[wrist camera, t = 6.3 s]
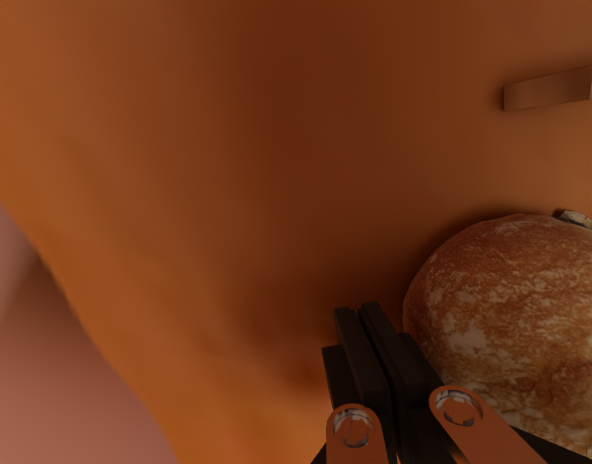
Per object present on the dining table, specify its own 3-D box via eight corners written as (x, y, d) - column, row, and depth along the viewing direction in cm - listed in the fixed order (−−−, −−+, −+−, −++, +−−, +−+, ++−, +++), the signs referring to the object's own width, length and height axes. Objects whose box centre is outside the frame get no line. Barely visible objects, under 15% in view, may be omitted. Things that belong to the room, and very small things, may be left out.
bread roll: (559, 235, 16) (845, 196, 8) (573, 446, 14) (943, 650, 7) (380, 219, 15) (504, 157, 7) (373, 441, 14) (524, 671, 6)
